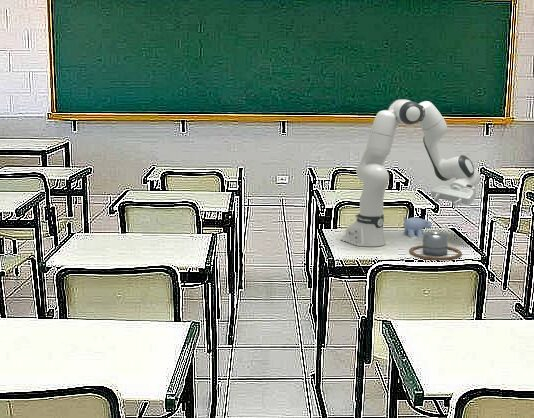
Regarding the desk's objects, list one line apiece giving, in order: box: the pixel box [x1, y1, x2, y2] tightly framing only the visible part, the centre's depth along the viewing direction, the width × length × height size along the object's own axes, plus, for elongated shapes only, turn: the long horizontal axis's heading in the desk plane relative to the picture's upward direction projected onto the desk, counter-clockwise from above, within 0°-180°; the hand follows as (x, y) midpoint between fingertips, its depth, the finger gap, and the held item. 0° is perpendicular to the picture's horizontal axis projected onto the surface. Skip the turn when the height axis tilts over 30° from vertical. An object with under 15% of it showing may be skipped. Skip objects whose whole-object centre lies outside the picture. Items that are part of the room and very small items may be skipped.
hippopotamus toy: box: [403, 216, 432, 238], centre depth 380 cm, size 11×15×10 cm
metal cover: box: [422, 230, 449, 257], centre depth 344 cm, size 11×11×10 cm
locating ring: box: [408, 244, 463, 261], centre depth 345 cm, size 23×23×1 cm
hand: (444, 202), depth 353 cm, fingers open, 8 cm apart
